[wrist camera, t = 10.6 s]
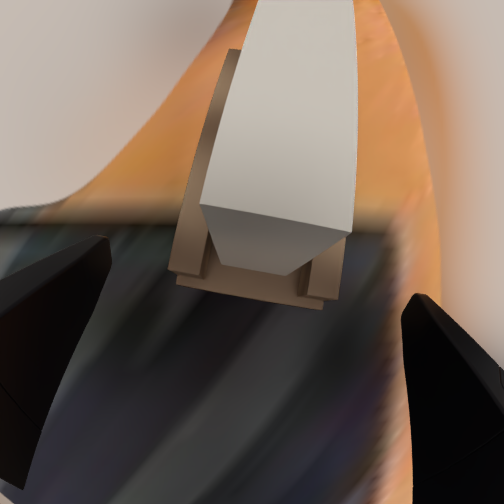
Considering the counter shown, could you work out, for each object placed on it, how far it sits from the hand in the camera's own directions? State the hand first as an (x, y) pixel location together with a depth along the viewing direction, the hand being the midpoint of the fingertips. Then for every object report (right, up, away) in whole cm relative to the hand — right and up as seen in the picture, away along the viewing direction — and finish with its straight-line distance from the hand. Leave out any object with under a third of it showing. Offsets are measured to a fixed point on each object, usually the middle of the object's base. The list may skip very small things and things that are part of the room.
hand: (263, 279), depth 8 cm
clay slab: (+1, +6, +9) cm, 11 cm away
